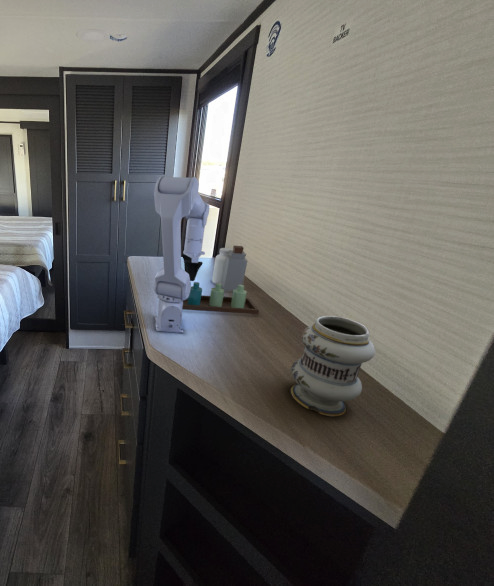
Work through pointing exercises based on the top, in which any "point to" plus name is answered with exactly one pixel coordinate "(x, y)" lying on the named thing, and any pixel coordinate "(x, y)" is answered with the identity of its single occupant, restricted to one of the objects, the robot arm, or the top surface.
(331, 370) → the apothecary jar
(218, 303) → the green bottle middle
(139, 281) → the top surface
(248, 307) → the tray
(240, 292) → the green bottle far
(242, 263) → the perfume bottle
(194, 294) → the teal bottle
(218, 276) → the pill bottle
